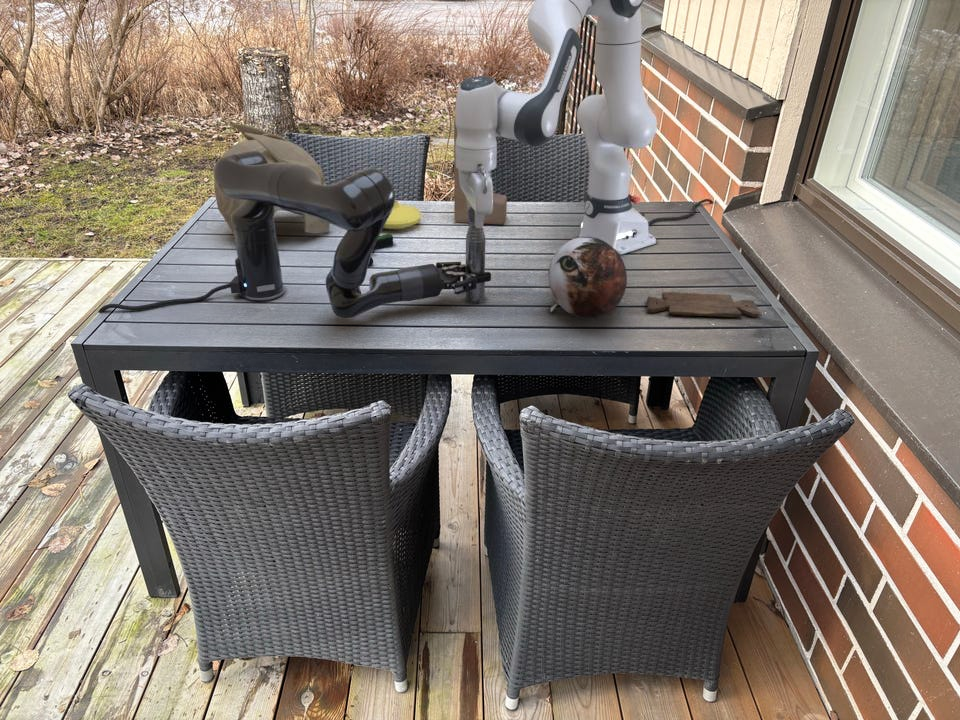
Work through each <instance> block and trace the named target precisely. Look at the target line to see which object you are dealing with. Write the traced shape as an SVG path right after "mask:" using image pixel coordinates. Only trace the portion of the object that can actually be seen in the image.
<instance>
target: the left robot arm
mask: <svg viewBox="0 0 960 720" xmlns="http://www.w3.org/2000/svg"><path fill="white" fill-rule="evenodd" d="M212 173H213V179H214V180H215V182H216V184H217V186H218V188H219V189H220V190H221V191H222V192H223V193H224V194H225V195H226V196H228V197H229V198H232V199H244V200H246V201H245V202H244V203H243V204H242V205H241V206H240V207H239V208H237V209H236V210H235V211H234V212H233V213H232V215H231V222H232V227H233V232H232V233H234V234H233V238H234V245H235V250H236V255H237V257H236V258H235V260H234V264H235V271H236V275H235V276H234V277H233V278H232V280H230V282H229V283H226V284H222V285H220V286H219V285H218V286H216V287H214V288H212V289H210V290H209V291H208V292H207V293H205V294H204V295H201V296H197V297H189V298H174V299H167V300H161V301H156V302H153V303H147V304H142V305H141V304H140V305H126V304H119V303H108V304H105V305H103V306H101V307H100V308H99V309H98V311H97V313H98V314H102V313H104V312H105V311H107V310H109V309H119V310H124V311H141V310H148V309H152V308H157V307H162V306H167V305H172V304H185V303H186V304H188V303H197V302H201V301H205V300H207V299H209V298H210V297H211V296H212V295H214V294H215V293H217V292H220V291H223V290H227V289H230V292H231V294H240V298H242V299H247V300H248V301H251V302H252V301H253V302H266V301H273V300H275V299H277V298H279V297H281V296H283V294H285V286H284V281H283V273H282V267H281V260H280V253H279V245H278V239H277V232H276V231H277V230H276V225H275V214H274V212H275V206H277V207H280V208H283V209H286V210H290V211H294V212H299V213H303V214H306V215H310V216H313V217H316V218H319V219H322V220H324V221H326V222H328V223H330V225H332V226H335V227H337V228H339V229H342V230H344V231H346V232H345V234H344V235H343V236H342V237H341V239H340V241H339V243H338V244H337V247H336V249H335V252H334V257H333V262H332V268H331V269H330V270H329V272H328V273H327V275H326V276H325V277H326V278H325V289H326V293H327V296H328V299H329V304H330V308H331V310H332V312H333V314H334V315H335V316H337V317H339V318H342V319H352V318H355V317H357V316H361V315H362V314H364V313H366V312H368V311H370V310H372V309H375V308H377V307H379V306H383V305H387V304H393V303H399V302H412V301H418V300H425V299H431V298H436V297H437V298H438V297H439V296H440V294H441V292H442V291H443V290H447V291H450V290H453V291H454V295H456V296H457V295H461V294H466V292H468V291H471V290H474V289H476V288H477V283H483V282H485V283H488V282H491V281H492V273H491V272H490V271H485V272H482V273H476V274H466V263H462V262H461V261H439V262H436V263H435V264H434V263H427V264H421V265H414V266H408V267H403V268H398V269H395V270H389V271H382V272H376V273H373V274H372V275H370V277H369V281H368V287H369V290H368V291H366V292H364V293H362V290H361V288H360V287H361V286H362V285H363V283H364V282H365V279H366V276H367V273H368V269H369V266H368V265H369V261H370V257H372V254H373V253H372V251H373V249H374V246H375V244H376V242H377V239H378V237H379V236H381V233H382V231H383V229H384V228H383V227H384V225H385V223H386V221H387V219H388V217H389V216H390V214H391V212H392V210H393V207H394V204H395V200H396V194H395V193H396V192H395V189H394V186H393V184H392V182H391V180H390V179H389V177H388V176H387V175H386V174H385V173H384V172H383V171H381V170H379V169H378V168H374V167H368V168H365V169H362V170H359V171H357V172H355V173H353V174H351V175H350V176H348V177H346V178H344V179H342V180H341V181H339V182H336V183H334V184H326V185H324V183H323V181H322V178H321V177H320V175H319V174H318V173H317V172H316V171H315V170H313V169H312V168H310V167H307V166H304V165H300V164H294V163H286V162H282V163H268V161H267V159H266V157H265V156H264V155H263V154H262V153H261V152H259V151H247V152H242V153H237V154H232V155H227V156H225V157H220V158H219V159H218V160H217V161H216V162H215V165H214V166H213V171H212ZM214 180H213V181H214ZM374 250H375V249H374ZM466 278H469V279H466Z"/></svg>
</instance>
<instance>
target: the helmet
mask: <svg viewBox="0 0 960 720" xmlns="http://www.w3.org/2000/svg"><path fill="white" fill-rule="evenodd" d="M229 126H230V127H233V128H235V129H237V130H238V131H239V132H240V134H242V135H243V136H244V137H245V139H246V140H245V141H240V142H237V143H235V144H234V145H233V146H231V147H230V148H229V149H228V150H227V151H226V152H225V153H224V154H223V155H222V157H225V156H227V155H232V154H237V153H242V152H247V151H259V152H261V153H262V154H263V155H264V156H265V157H266V159H267V161H268V163H282V162H286V163H294V164H300V165H304V166H307V167H310V168H312V169H313V170H315V171H316V172H317V173H318V174H319V175H320V177H321V178H322V181H323V183H324V185H327V182H326V180H325V175H324V173H323V172H324V171H323V169H322V167H321V166H320V165H319V164H318V163H317V161H316V160H315V159H314V157H313V156H312V155H311V154H310V153H309V152H308V151H306V150H305V149H304V148H302V147H301V146H299V145H298V144H296V143H293V142H291V141H290V140H289V139H287V138H285V137H283V136H281V135H277V134H274V133H270V132H268V131H267V130H264V129H261V128H258V127H255V126H251V125H246V124H238V123H237V124H236V123H230V125H229ZM222 157H221V158H222ZM213 187H214V195H215V200H216V206H217V210H218V211H219V213H220V214H221V216H222V218H223V219H224V220H225V222H226V224H227V226H228V227H229V229H230V230H231V232H232V233H233V227H232V222H231V215H232V213H233V212H234V211H235V210H236V209H237V208H239V207H240V206H241V205H242V204H243V203H244V202H245V201H246V200H244V199H232V198H229V197H228V196H226V195H225V194H224V193H223V192H222V191H221V190H220V189H219V188H218V186H217V184H216V182H215V180H213ZM279 210H283V211H285V212H289V213H293V214H295V215H298V216H303V221H304V232H305V233H310V234H311V233H313V234H319V233H330V226H331V223H328V222H326V221H324V220H322V219H319V218H316V217H313V216H310V215H306V214H303V213H299V212H294V211H290V210H286V209H283V208H280V207H277V206H275V212H274V215H275V214H276V213H277V212H278V211H279ZM233 235H234V233H233Z"/></svg>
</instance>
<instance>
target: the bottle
mask: <svg viewBox="0 0 960 720" xmlns="http://www.w3.org/2000/svg"><path fill="white" fill-rule="evenodd" d="M486 242H487V241H486V234H485V230H484V226H483V227H482V228H476V227H475V225H474V223H471V222H470V223H469V225H468V229H467V231H466V235H465V264H466V274H476V273H482V272H486ZM466 279H469V278H466ZM485 285H486V282H483V283H477V288H476V289H474V290H471V291H468V292H465V302H466V303H469V304H472V305H479V304H482V303H484V302H485V293H486V292H485V289H486V286H485Z"/></svg>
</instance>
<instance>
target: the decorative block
mask: <svg viewBox="0 0 960 720" xmlns="http://www.w3.org/2000/svg"><path fill="white" fill-rule="evenodd" d="M456 139H457V128H456V124H455V119H454V120H453V176H454V177H453V182H454V183H453V184H454V185H453V186H454V188H453V189H454V191H453V192H454V195H453V196H454V201H453V202H454V203H453V205H454V206H453V207H454V210H453V211H454V212H453V213H454V215H453V216H454V218H453V219H454V222H456V223H468V224H470V222H469V221H468V220H467V211H468V206H467V200H466V196H465V194H464V192H463V191H462V189H461V187H460V183H459V173H458V169H457V168H456V166H455V143H456ZM507 207H508V196H507V195H505V194H499V193H495V192H493V211H492V213H491V214H486V215H485V217H484V221H483V225H484V224H487V225H501V226H502V225H504V224H505V221H506V218H507V211H508V210H507Z"/></svg>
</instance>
